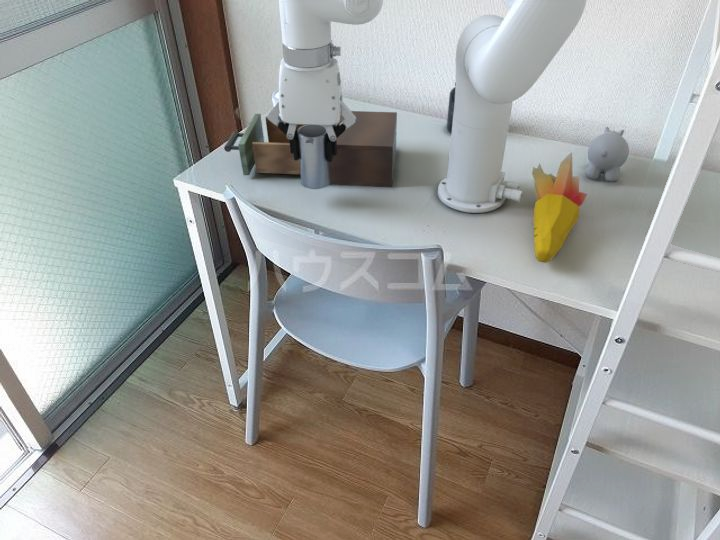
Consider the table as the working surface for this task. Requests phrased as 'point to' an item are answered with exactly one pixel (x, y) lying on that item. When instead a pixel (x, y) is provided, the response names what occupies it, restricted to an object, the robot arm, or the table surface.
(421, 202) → the table surface
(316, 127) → the measuring cup
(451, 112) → the supplement bottle
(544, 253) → the torch
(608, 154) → the toy rhinoceros
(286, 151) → the drawer
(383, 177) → the cabinet
